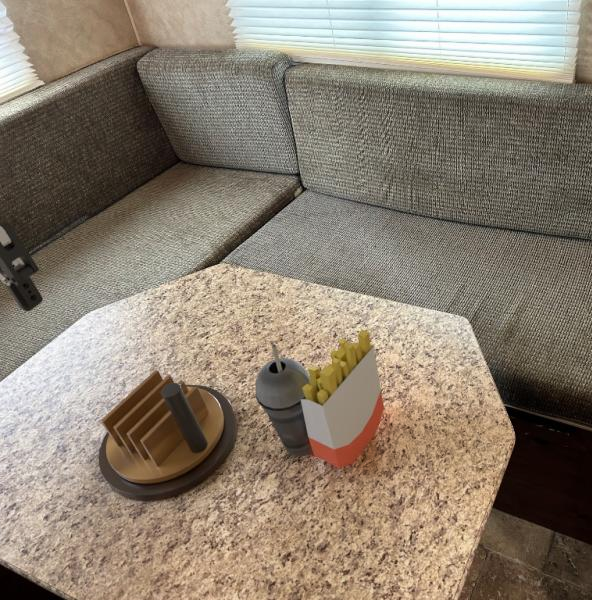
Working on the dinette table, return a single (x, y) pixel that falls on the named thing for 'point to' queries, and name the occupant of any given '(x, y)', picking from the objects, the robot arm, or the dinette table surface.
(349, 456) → the french fries container
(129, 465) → the plate rack
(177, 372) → the dinette table surface
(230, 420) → the base
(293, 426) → the beverage cup
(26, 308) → the robot arm
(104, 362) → the dinette table surface
